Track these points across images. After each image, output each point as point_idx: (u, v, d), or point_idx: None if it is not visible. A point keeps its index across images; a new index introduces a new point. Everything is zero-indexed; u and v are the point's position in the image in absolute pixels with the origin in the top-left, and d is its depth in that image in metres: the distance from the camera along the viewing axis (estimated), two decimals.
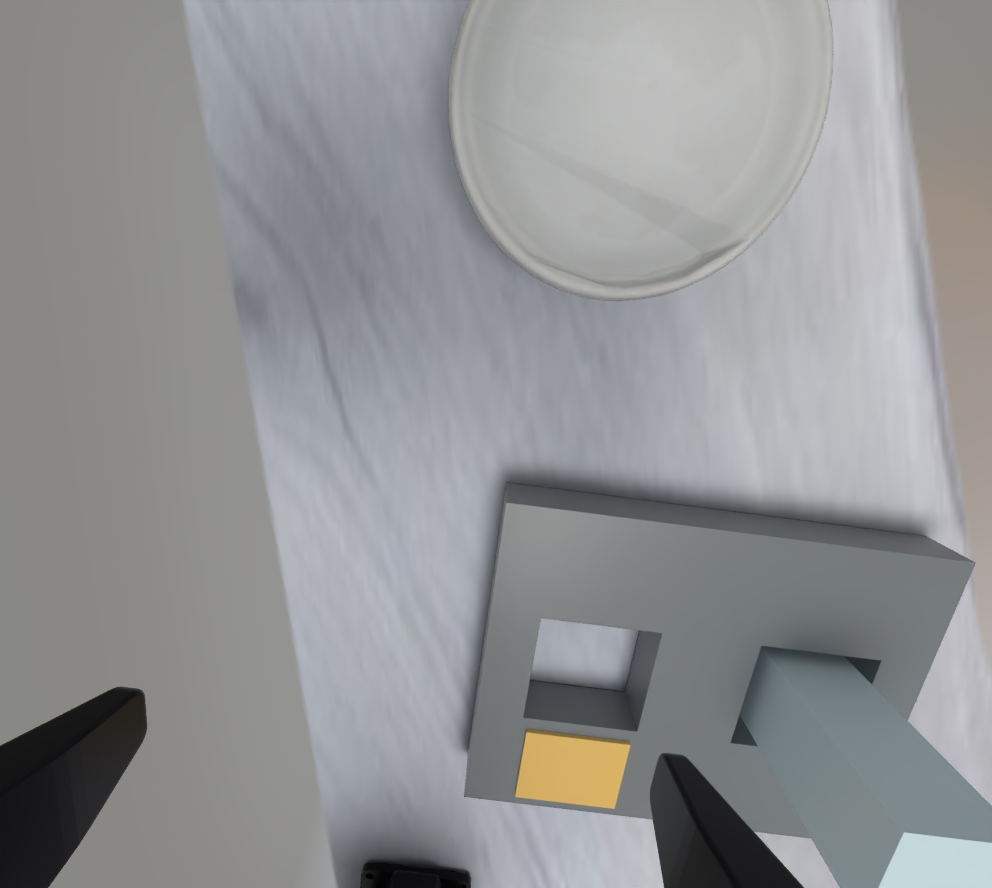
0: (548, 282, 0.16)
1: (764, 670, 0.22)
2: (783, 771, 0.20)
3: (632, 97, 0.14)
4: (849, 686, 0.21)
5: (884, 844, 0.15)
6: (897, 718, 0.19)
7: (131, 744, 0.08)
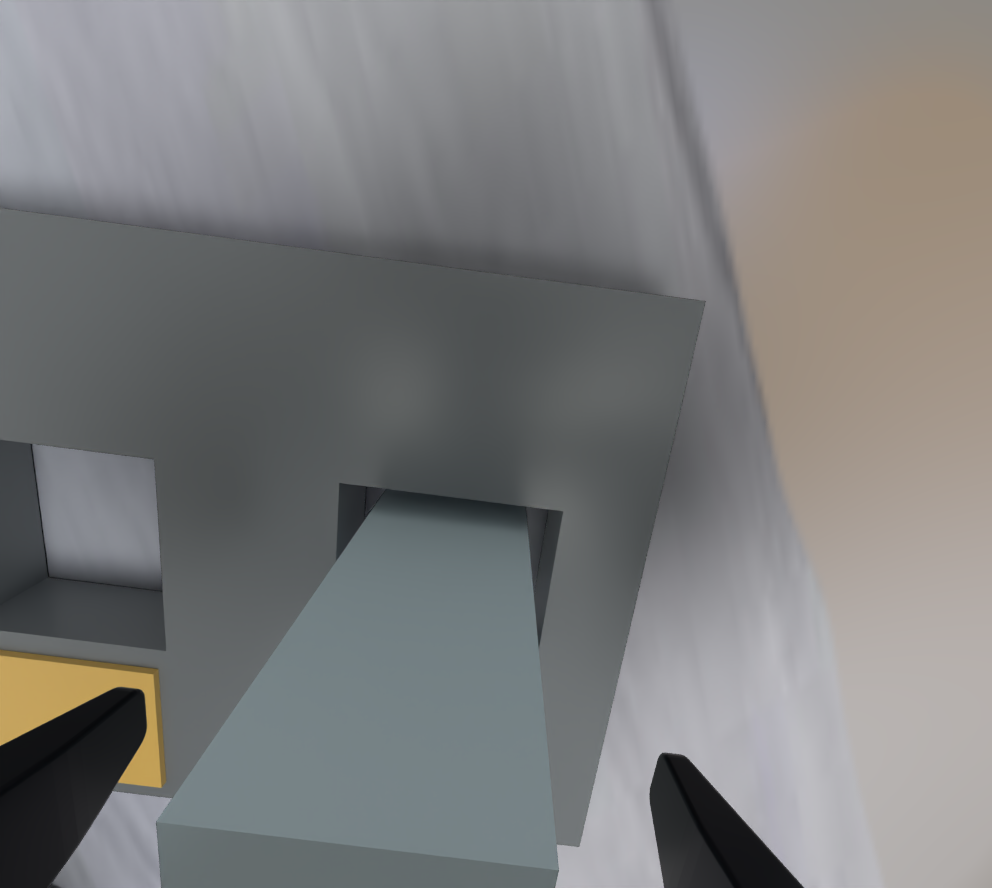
0: None
1: None
2: None
3: None
4: (477, 549, 0.11)
5: None
6: (515, 593, 0.09)
7: (131, 744, 0.08)
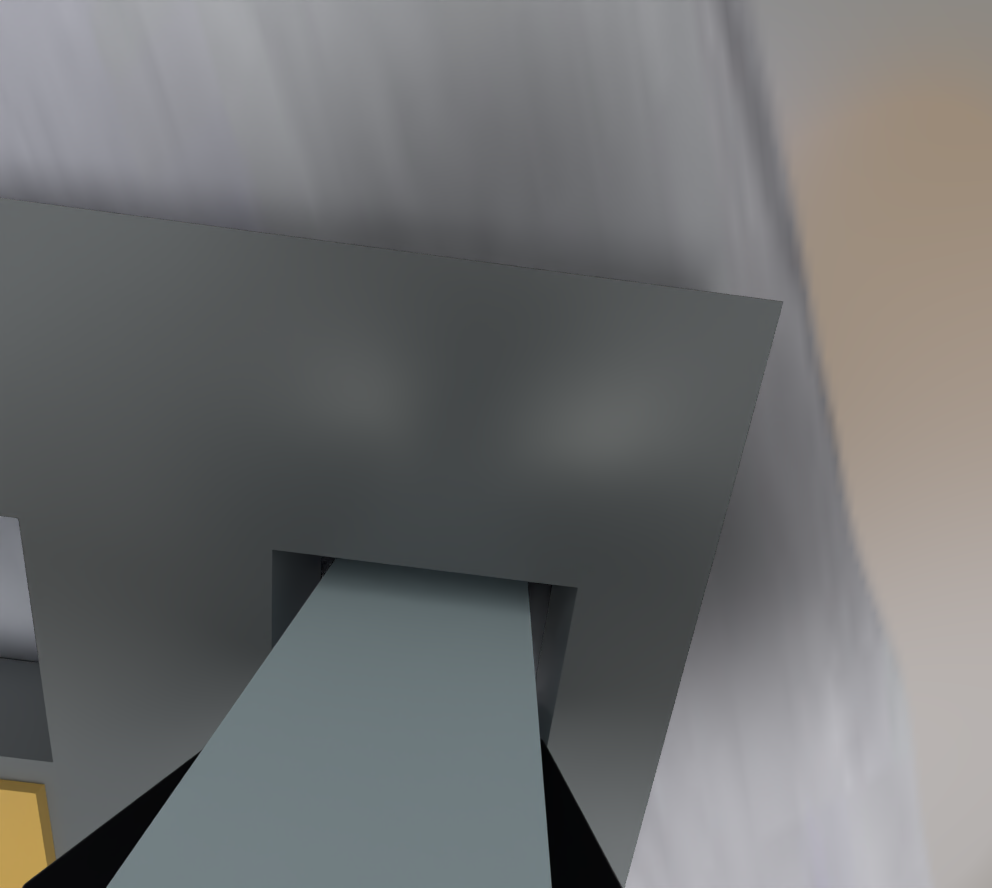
0: None
1: None
2: None
3: None
4: (458, 649, 0.08)
5: None
6: (513, 739, 0.06)
7: None
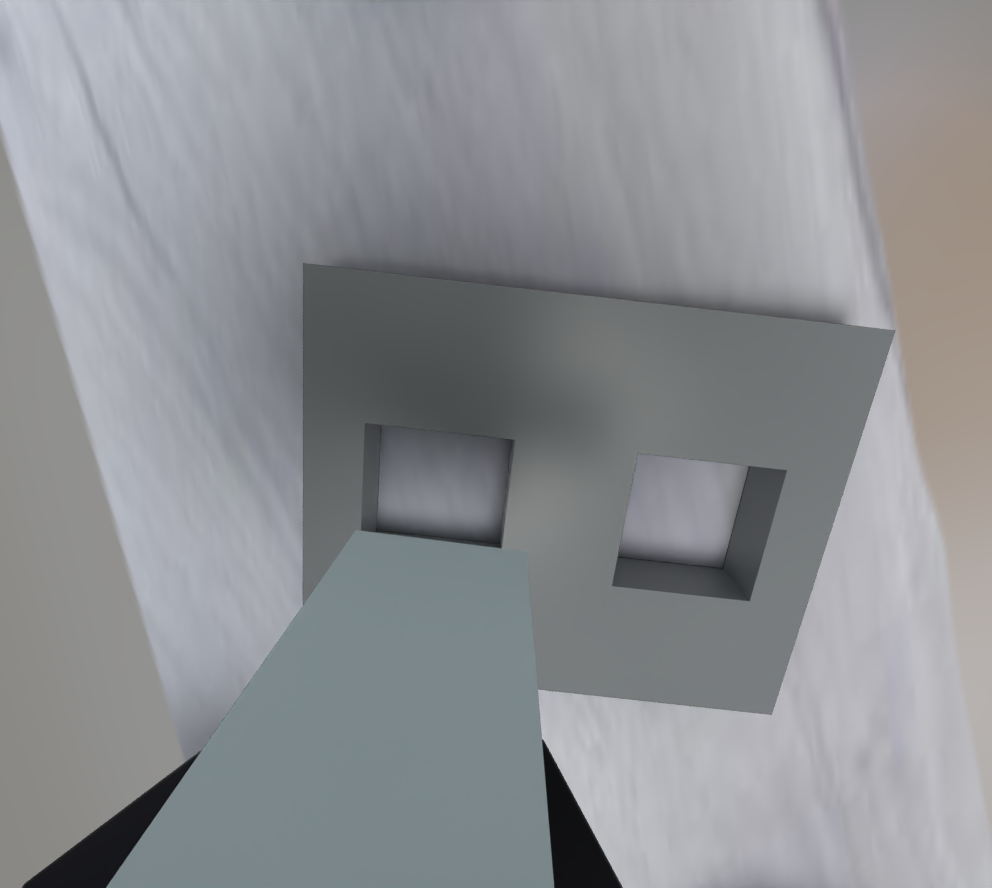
0: None
1: None
2: None
3: None
4: (460, 647, 0.08)
5: None
6: (515, 737, 0.06)
7: None
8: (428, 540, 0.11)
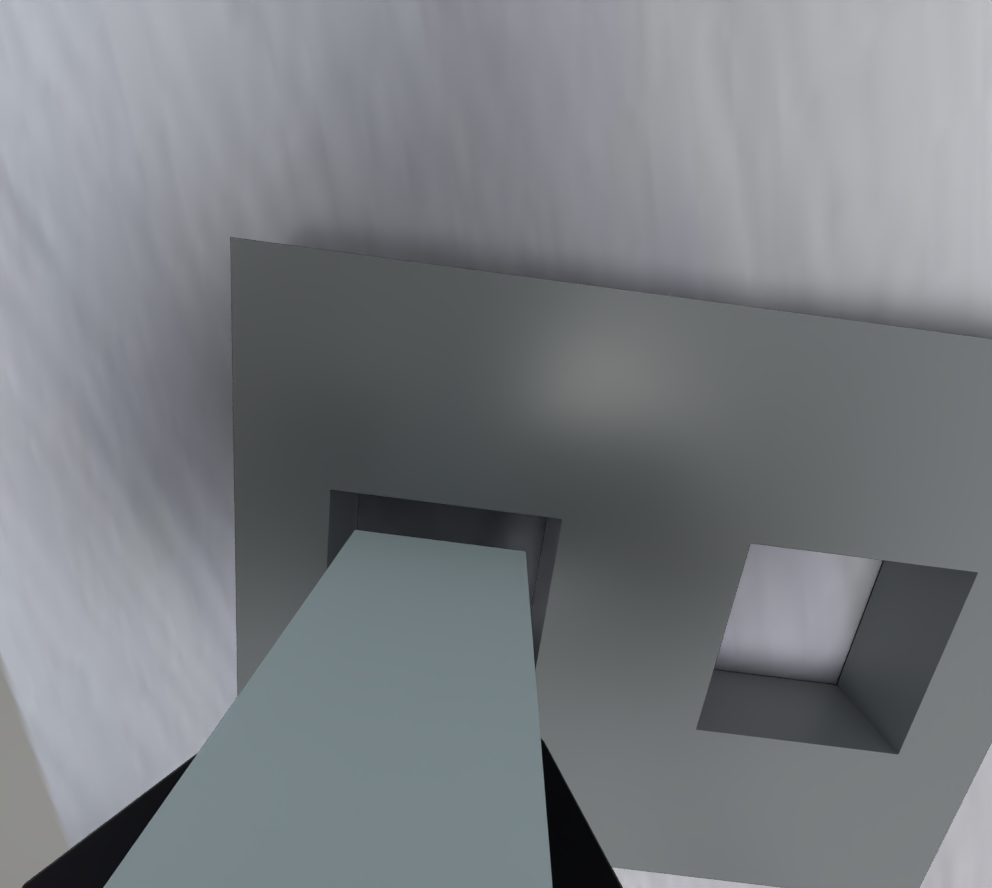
0: None
1: None
2: None
3: None
4: (459, 647, 0.08)
5: None
6: (513, 738, 0.06)
7: None
8: (427, 540, 0.11)
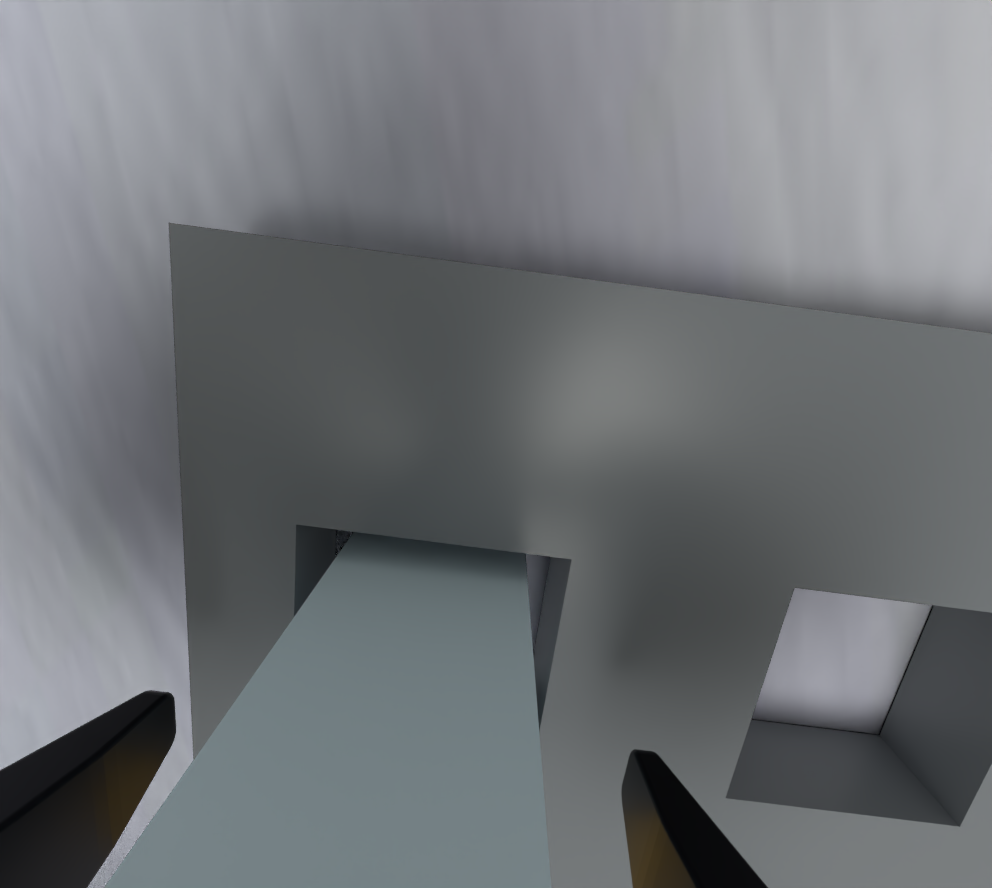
0: None
1: None
2: None
3: None
4: (463, 611, 0.09)
5: None
6: (512, 681, 0.07)
7: (161, 748, 0.08)
8: None
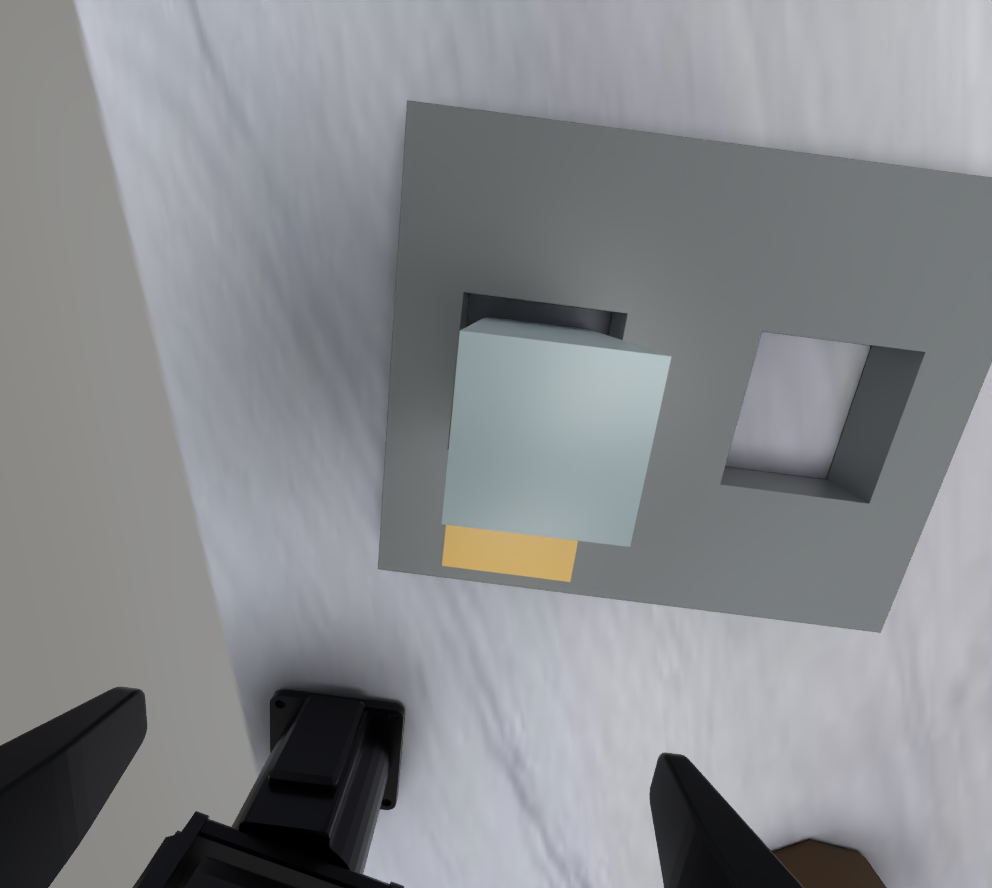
0: None
1: None
2: None
3: None
4: (568, 330, 0.15)
5: (456, 379, 0.10)
6: (605, 336, 0.14)
7: (131, 744, 0.08)
8: None
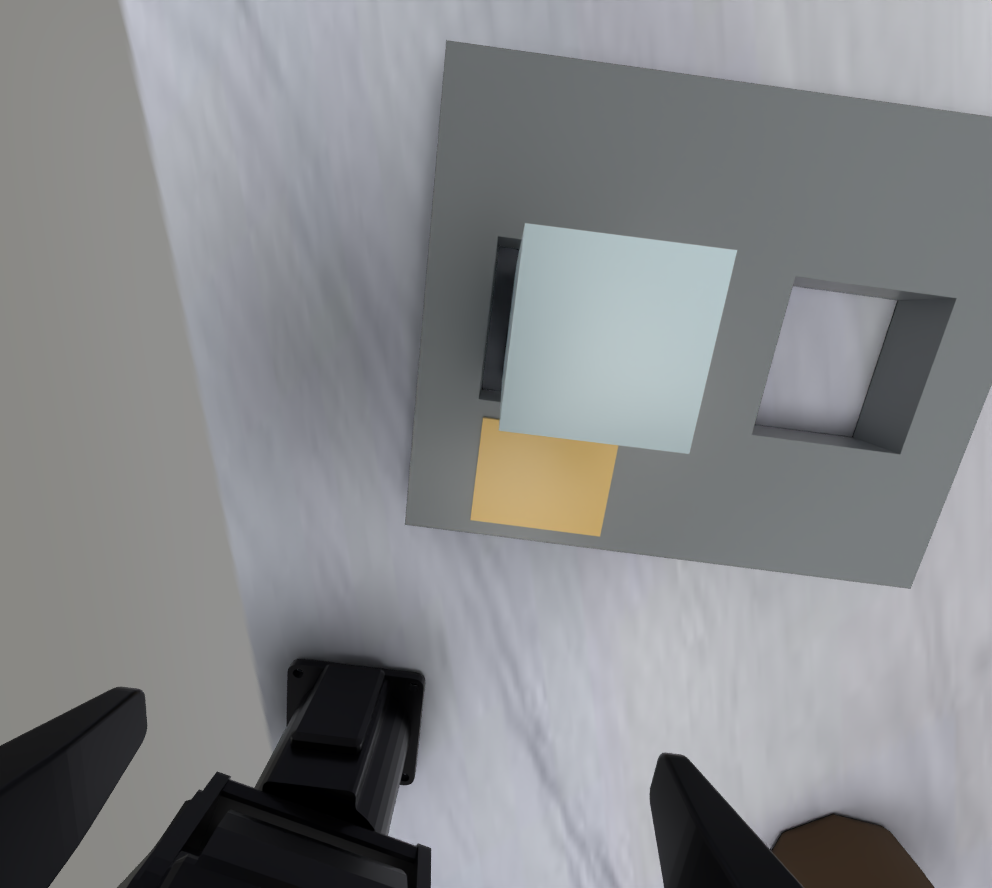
0: None
1: (513, 288, 0.17)
2: None
3: None
4: None
5: (517, 279, 0.10)
6: None
7: (131, 744, 0.08)
8: None
